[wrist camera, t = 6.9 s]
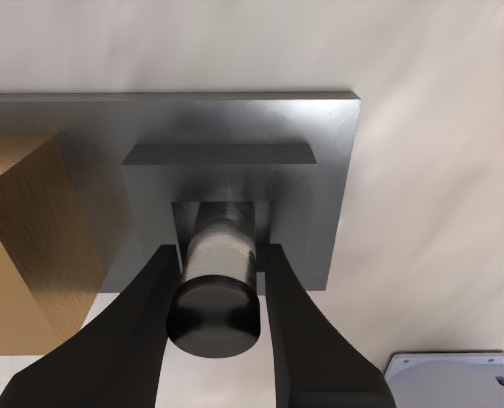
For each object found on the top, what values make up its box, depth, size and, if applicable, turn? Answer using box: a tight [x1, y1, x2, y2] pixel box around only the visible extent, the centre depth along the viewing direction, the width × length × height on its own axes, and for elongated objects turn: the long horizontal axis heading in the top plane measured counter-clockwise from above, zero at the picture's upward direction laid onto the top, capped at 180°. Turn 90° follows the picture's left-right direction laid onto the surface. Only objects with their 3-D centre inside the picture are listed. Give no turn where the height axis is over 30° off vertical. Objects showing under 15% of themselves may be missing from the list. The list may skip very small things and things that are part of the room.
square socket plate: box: [0, 92, 361, 356], centre depth 15 cm, size 20×12×6 cm, turn 90°
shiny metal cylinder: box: [165, 201, 261, 358], centre depth 14 cm, size 3×3×7 cm
